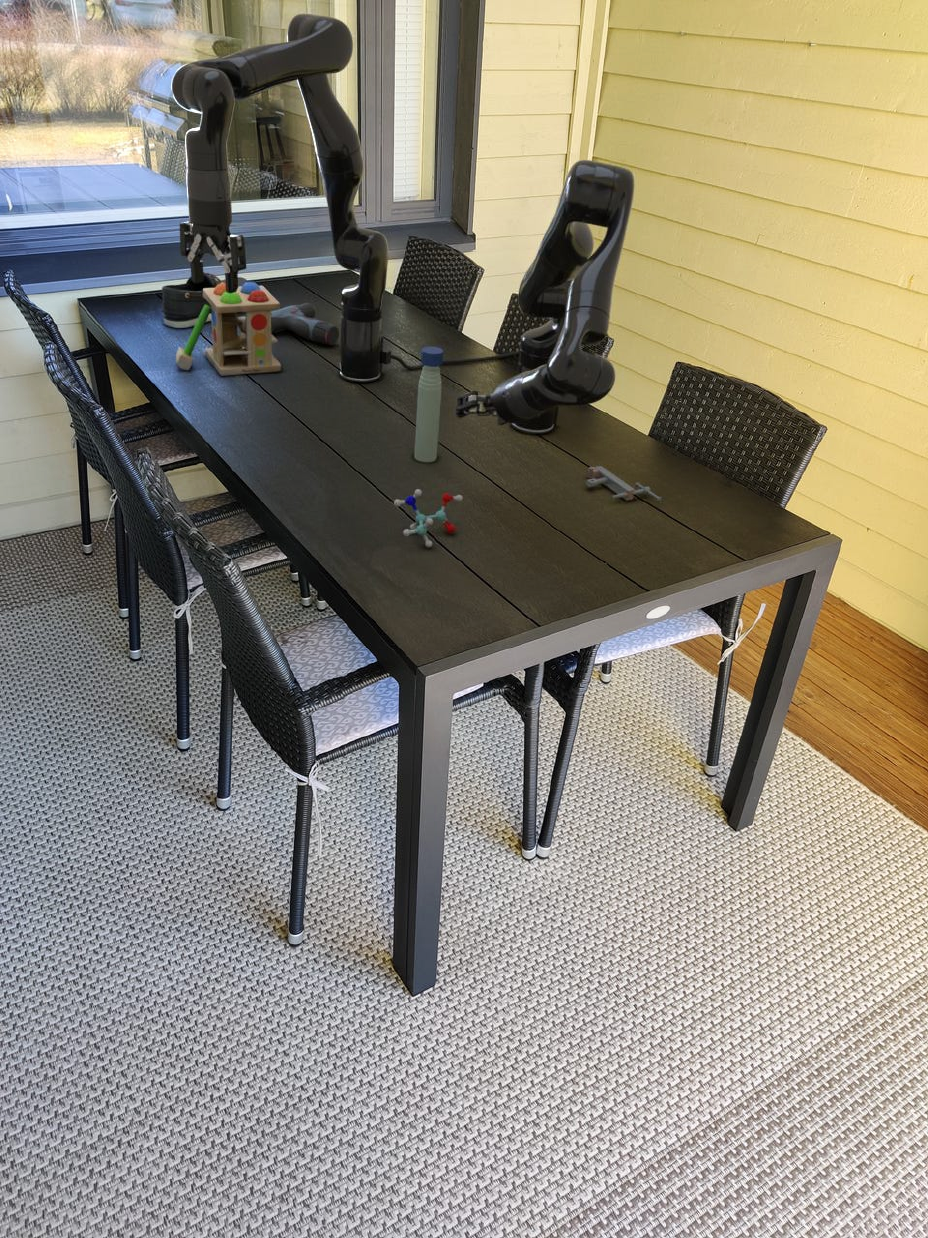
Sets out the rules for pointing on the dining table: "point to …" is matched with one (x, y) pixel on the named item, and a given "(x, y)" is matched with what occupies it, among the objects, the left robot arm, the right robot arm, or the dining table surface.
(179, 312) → the boat shoe
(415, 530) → the molecular model
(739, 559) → the dining table surface
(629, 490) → the clamp
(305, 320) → the power drill
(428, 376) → the bottle
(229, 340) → the pounding bench toy
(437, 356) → the cap
